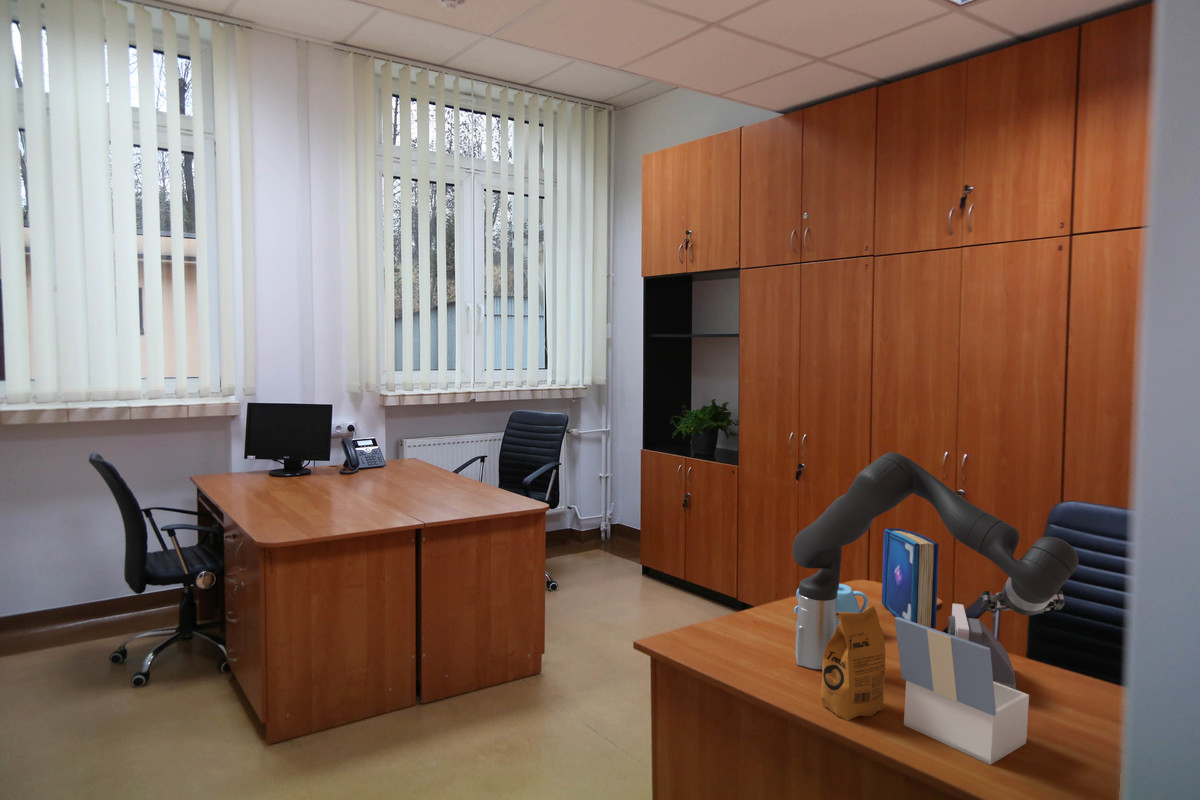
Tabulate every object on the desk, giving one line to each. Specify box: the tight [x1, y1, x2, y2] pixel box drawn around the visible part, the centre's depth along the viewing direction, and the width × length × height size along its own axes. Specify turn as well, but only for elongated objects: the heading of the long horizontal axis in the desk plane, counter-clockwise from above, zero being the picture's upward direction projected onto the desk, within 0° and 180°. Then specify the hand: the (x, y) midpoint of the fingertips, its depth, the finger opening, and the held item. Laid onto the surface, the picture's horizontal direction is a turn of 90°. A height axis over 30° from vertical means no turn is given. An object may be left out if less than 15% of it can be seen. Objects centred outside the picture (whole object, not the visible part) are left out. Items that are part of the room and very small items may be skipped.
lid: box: [894, 616, 996, 716], centre depth 147 cm, size 14×19×1 cm
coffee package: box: [820, 605, 886, 721], centre depth 163 cm, size 10×12×22 cm
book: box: [881, 527, 940, 630], centre depth 219 cm, size 22×7×25 cm, turn 5°
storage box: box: [903, 680, 1030, 766], centre depth 153 cm, size 14×18×10 cm
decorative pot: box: [793, 583, 869, 628], centre depth 210 cm, size 16×16×14 cm
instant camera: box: [947, 602, 1020, 691], centre depth 180 cm, size 21×21×15 cm
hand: (1015, 608), depth 153 cm, fingers open, 8 cm apart
